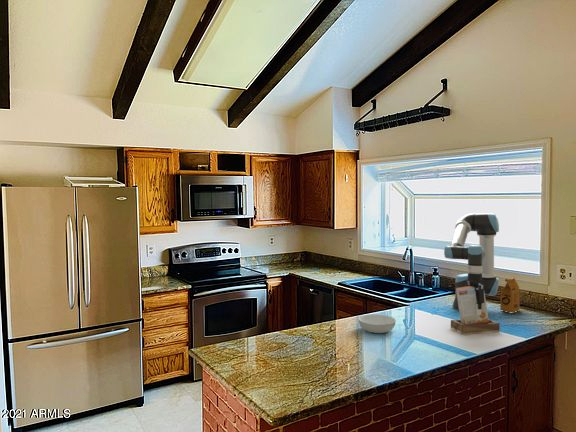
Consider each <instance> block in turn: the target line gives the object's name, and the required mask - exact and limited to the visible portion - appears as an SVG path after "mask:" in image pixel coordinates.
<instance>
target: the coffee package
mask: <svg viewBox="0 0 576 432" xmlns="http://www.w3.org/2000/svg"><path fill="white" fill-rule="evenodd" d="M504 281H505V282H506V283H505V285H504V287H503V289H502V290H501V292H500V305H499V306H500V309H499V310H500V311H501V310H503V311H507V312H514V313H516V312H515V311H518V310H519V311H520V305H521V304H520V300H521V299H520V297H521V296H520V295H521V294H520V293H521V292H520V286H519V284H518V283H517V280H516V279H515V277H514V276H513V277H511V278H506V279H505V280H504ZM519 311H518V312H519Z"/></svg>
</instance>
